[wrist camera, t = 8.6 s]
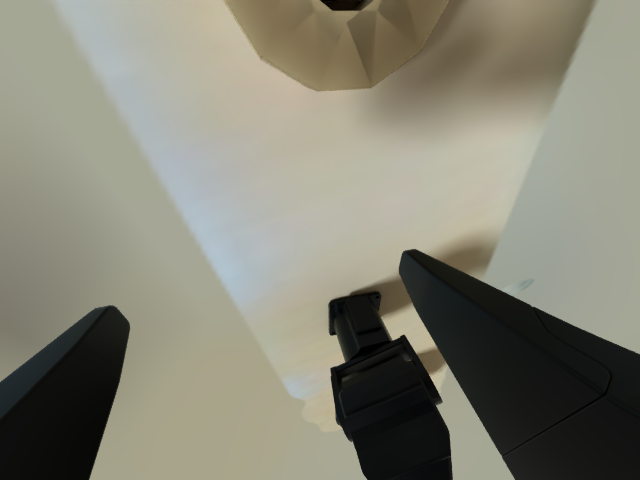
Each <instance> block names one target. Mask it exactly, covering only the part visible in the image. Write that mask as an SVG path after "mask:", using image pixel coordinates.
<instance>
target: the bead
mask: <svg viewBox="0 0 640 480" xmlns="http://www.w3.org/2000/svg"><path fill="white" fill-rule="evenodd" d="M449 1H450V0H361V1H360V3H359V5H358V6H357V7H356V8H355V9H353V10H352V11H332V10H331V9H330V8H328V7H327V6H326V5H325V4H323V3H322V2H321V1H320V0H224V2H225V4H226V5H227V7H228V8H229V10H230V12H231V13H232V15H233V16H234V18H235V20H236V21H237V23H238V24H239V26H240V28H241V29H242V31H243V32H244V34H245V36H246V37H247V39H248V40H249V42H250V44H251V45H252V47H253V49H254V50H255V52H256V53H257V55H258V57H259V58H260V59H261V60H263V61H265V62H266V63H268V64H270V65H271V66H273V67H274V68H276V69H278V70H279V71H281V72H283V73H284V74H286V75H287V76H289V77H291V78H292V79H294V80H296V81H297V82H299V83H300V84H302V85H304V86H306V87H308V88H311V89H313V90H315V91H332V90H348V89H365V88H372V87H373V86H375V85H376V84H377V83H379V82H380V81H381V80H383V79H384V78H385V77H387V76H388V75H389V74H391V73H392V72H393V71H395V70H396V69H398V68H399V67H400V66H402V65H403V64H404V63H406V62H407V61H408V60H410V59H411V58H412V57H414V56H415V55H416V54H418V53H419V52H420V51H421V50H422V48H423V46H424V44H425V43H426V41H427V39H428V37H429V36H430V34H431V32H432V31H433V29H434V27H435V25H436V24H437V22H438V20H439V18H440V17H441V15H442V13H443V11H444V10H445V8H446V6H447V4H448V3H449Z"/></svg>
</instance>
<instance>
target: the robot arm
mask: <svg viewBox="0 0 640 480" xmlns="http://www.w3.org/2000/svg"><path fill="white" fill-rule="evenodd" d="M399 274H400V276H401V278H402V281H403V283H404V285H405V287H406V289H407V292H408V294H409V296H410V298H411V300H412V303H413V305H414V307H415V309H416V311H417V313H418V315H419V317H420V318H421V320H422V322H423V323H424V325H425V327H426V329H427V330H428V332H429V334H430V335H431V337H432V339H433V340H434V342H435V344H436V346H437V347H438V349H439V351H440V352H441V354H442V356H443V357H444V359H445V361H446V363H447V364H448V366H449V368H450V369H451V371H452V373H453V374H454V376H455V378H456V380H457V381H458V383H459V385H460V386H461V388H462V390H463V391H464V393H465V395H466V396H467V398H468V400H469V402H470V403H471V405H472V407H473V408H474V410H475V412H476V413H477V415H478V417H479V418H480V420H481V422H482V423H483V425H484V427H485V429H486V430H487V432H488V434H489V436H490V437H491V439H492V441H493V442H494V444H495V446H496V448H497V449H498V451H499V453H500V454H501V455H502V458H503V460H504V461H505V463H506V464H507V467H508V468H509V470H510V472H511V473H512V475H513V477H514V479H515V480H640V354H638V353H635V352H633V351H631V350H628V349H626V348H623V347H621V346H619V345H617V344H614V343H612V342H610V341H607V340H605V339H603V338H600V337H598V336H596V335H594V334H591V333H589V332H587V331H585V330H582V329H580V328H578V327H575V326H573V325H571V324H569V323H567V322H565V321H563V320H561V319H558V318H556V317H554V316H552V315H550V314H548V313H546V312H544V311H541V310H540V309H538V308H536V307H532V306H531V305H529V304H527V303H525V302H523V301H521V300H519V299H517V298H515V297H513V296H511V295H509V294H507V293H505V292H503V291H501V290H498V289H496V288H494V287H492V286H490V285H488V284H486V283H484V282H482V281H480V280H478V279H476V278H474V277H472V276H470V275H468V274H466V273H464V272H462V271H459V270H457V269H455V268H453V267H451V266H449V265H447V264H445V263H443V262H441V261H439V260H437V259H435V258H433V257H431V256H429V255H427V254H425V253H423V252H420V251H418V250H416V249H411V250H406V251H404V252H403V253H402V256H401V261H400V265H399ZM380 300H381V294H380V293H379V292H374V293H369V294H364V295H360V296H355V297H350V298H346V299H341V300H336V301H332V302H330V303H329V305H328V308H329V333H330V335H337V337H338V341H339V344H340V347H341V350H342V353H343V356H344V359H345V363H343V364H341V365H339V366H337V367H335V366H334V367H332V368H330V369H331V382H332V389H333V396H334V403H335V414H336V422H337V424H338V425H340V426H341V427H342V428H343V431H344V433H345V435H346V437H347V438H348V440H349V441H351V442H352V441H353V443H354V446H355V449H356V451H357V455H358V459H359V462H360V466H361V469H362V472H363V474H364V476H365V477H366V478H367V480H453V477H452V462H451V449H450V434H449V430H448V428H447V426H446V424H445V422H444V420H443V418H442V416H441V415H440V413H439V411H438V409H437V407H436V405H438V404H441V403H442V399H441V397H440V395H439V393H438V391H437V389H436V387H435V385H434V383H433V381H432V380H431V378H430V376H429V374H428V373H427V371H426V369H425V367H424V366H423V364H422V362H421V361H420V359H419V358H418V356H417V354H416V353H415V351H414V349H413V348H412V346H411V344H410V343H409V341H408V340H407V338H406V336H405V335H402V336H400V338H398V339H396V340H394V341H393V340H392V338H391V336H390V334H389V332H388V330H387V329H386V327H385V325H384V323H383V321H382V319H381V317H380V315H379V313H378V311H379V306H380ZM129 332H130V324H129V322H128V320H127V319H126V318H125V317H124V316H123V315H122V313H121V312H120V311H119V310H118V309H117V308H116V307H115V306H113V305H112V306H110V305H109V306H104V307H99V308H95V309H94V310H92V311H91V312H90V313H88V314H87V315H86V316H84V317H83V318H82V319H80V320H79V321H78V322H77V323H75V324H74V325H73V326H72V327H70V328H69V329H68V330H66V331H65V332H64V333H63V334H61V335H60V336H59V337H57V338H56V339H55V340H54V341H53V342H51V343H50V344H48V345H47V346H46V347H45V348H43V349H42V350H41V351H40V352H38V353H37V354H36V355H34V356H33V357H32V358H31V359H29V360H28V361H27V362H25V363H24V364H23V365H22V366H20V367H19V368H18V369H16V370H15V371H14V372H13V373H11V374H10V375H9V376H8V377H6V378H5V379H4V380H3V381H1V382H0V480H89V478H90V475H91V472H92V469H93V466H94V463H95V459H96V456H97V453H98V450H99V447H100V443H101V440H102V437H103V434H104V431H105V427H106V424H107V421H108V418H109V415H110V411H111V408H112V405H113V402H114V399H115V395H116V392H117V389H118V385H119V382H120V377H121V373H122V368H123V363H124V358H125V352H126V348H127V342H128V337H129ZM409 359H410V360H411V361H408V362H405V361H407V360H409Z"/></svg>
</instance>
